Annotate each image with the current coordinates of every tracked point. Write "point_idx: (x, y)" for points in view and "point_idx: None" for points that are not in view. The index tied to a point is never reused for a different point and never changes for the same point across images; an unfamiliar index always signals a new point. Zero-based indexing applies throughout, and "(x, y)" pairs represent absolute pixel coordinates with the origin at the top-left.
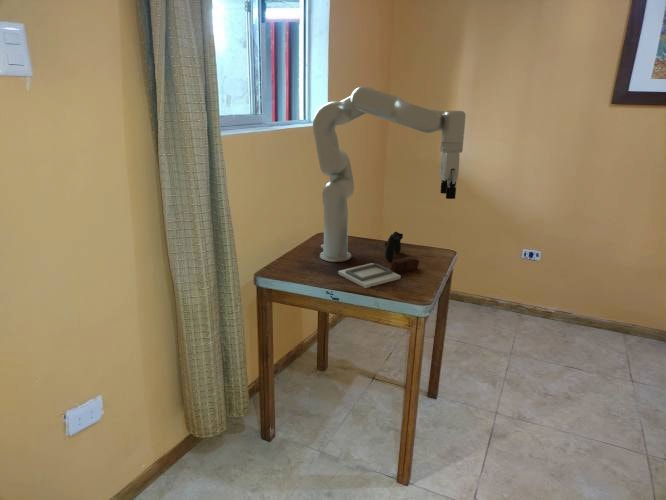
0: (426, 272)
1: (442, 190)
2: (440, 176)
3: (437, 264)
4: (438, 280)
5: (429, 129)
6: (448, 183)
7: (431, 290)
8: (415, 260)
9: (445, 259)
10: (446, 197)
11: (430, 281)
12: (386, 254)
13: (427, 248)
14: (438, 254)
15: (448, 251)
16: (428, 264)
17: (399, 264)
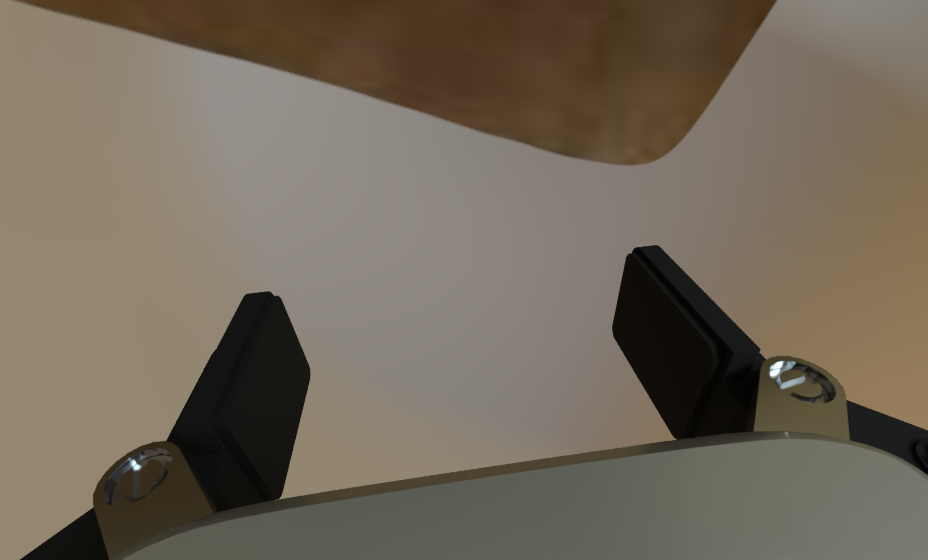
0: (359, 8)
1: (644, 286)
2: (639, 509)
3: (484, 82)
4: (264, 63)
5: None
6: (103, 538)
7: (108, 10)
8: None
9: (553, 128)
10: (244, 303)
11: (234, 18)
12: None
13: (721, 53)
14: (623, 102)
15: (658, 153)
16: (480, 33)
17: None
